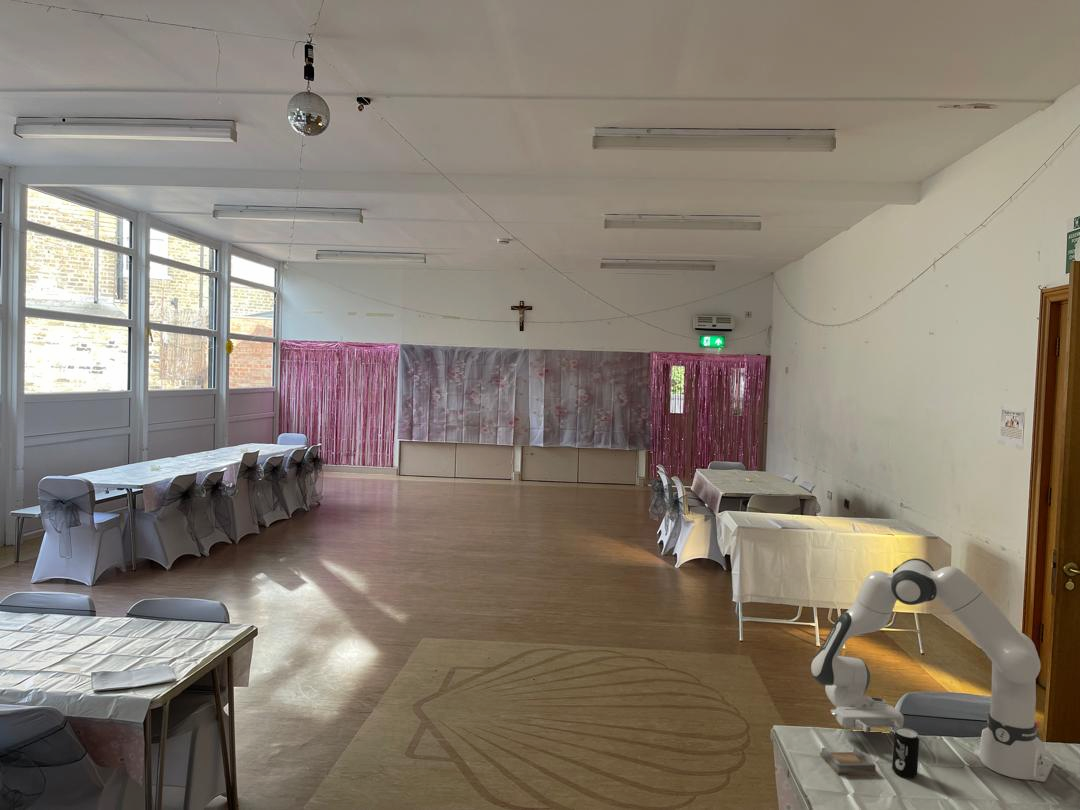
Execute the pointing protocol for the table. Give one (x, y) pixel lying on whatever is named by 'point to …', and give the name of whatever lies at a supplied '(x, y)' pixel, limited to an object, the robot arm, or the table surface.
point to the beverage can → (905, 752)
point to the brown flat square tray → (849, 762)
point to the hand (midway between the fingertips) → (882, 729)
